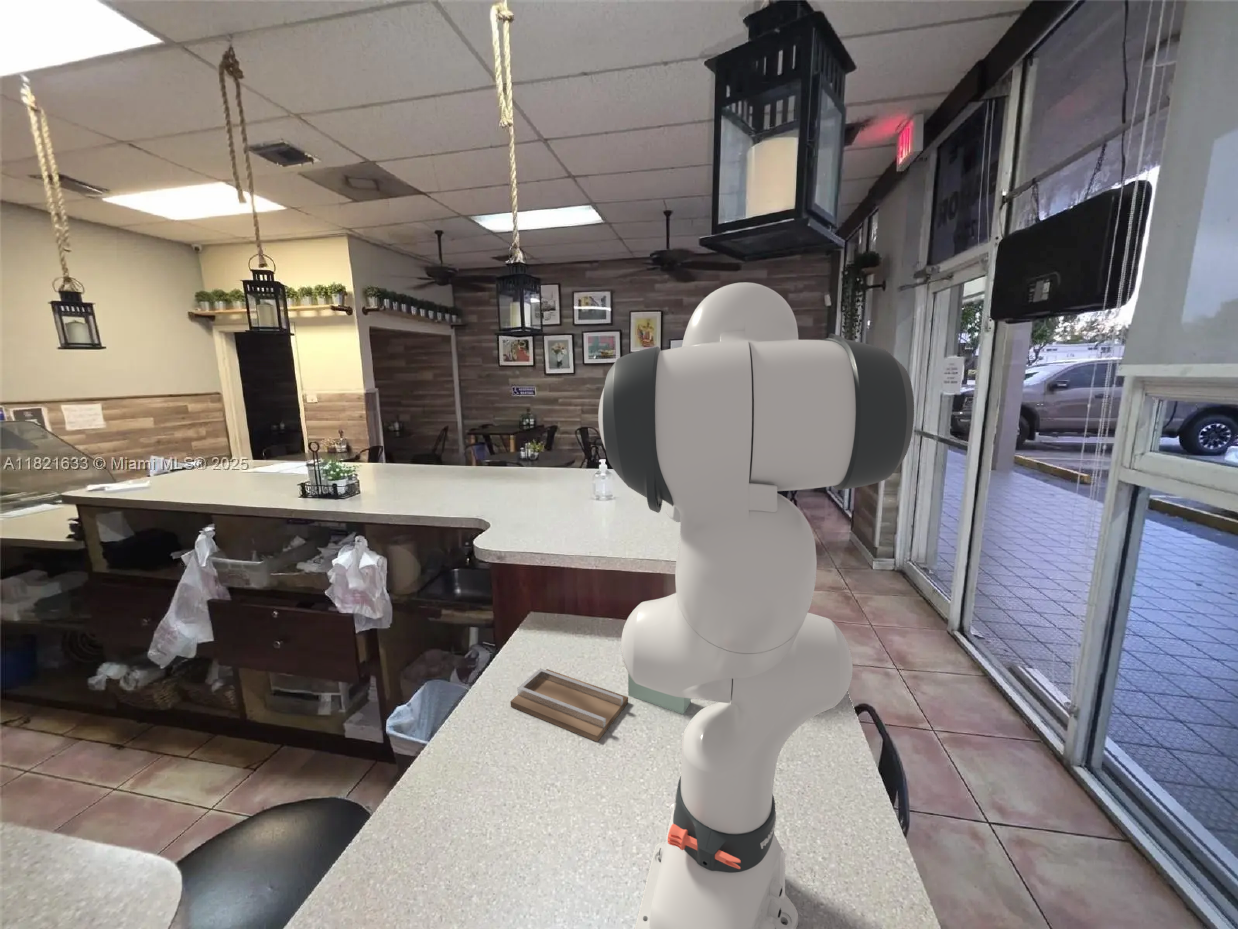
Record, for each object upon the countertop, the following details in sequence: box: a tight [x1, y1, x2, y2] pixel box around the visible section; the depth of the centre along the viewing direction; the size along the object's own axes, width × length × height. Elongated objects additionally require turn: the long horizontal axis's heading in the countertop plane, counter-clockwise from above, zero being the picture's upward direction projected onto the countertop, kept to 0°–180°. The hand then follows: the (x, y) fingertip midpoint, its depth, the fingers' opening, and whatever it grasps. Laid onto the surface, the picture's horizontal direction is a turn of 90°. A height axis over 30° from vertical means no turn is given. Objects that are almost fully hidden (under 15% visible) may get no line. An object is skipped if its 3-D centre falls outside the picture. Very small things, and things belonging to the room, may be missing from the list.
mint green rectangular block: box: [627, 672, 692, 715], centre depth 99 cm, size 4×12×8 cm, turn 62°
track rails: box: [517, 668, 623, 728], centre depth 98 cm, size 8×20×2 cm, turn 62°
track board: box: [510, 668, 629, 742], centre depth 98 cm, size 12×20×1 cm, turn 62°
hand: (719, 538), depth 88 cm, fingers open, 8 cm apart
